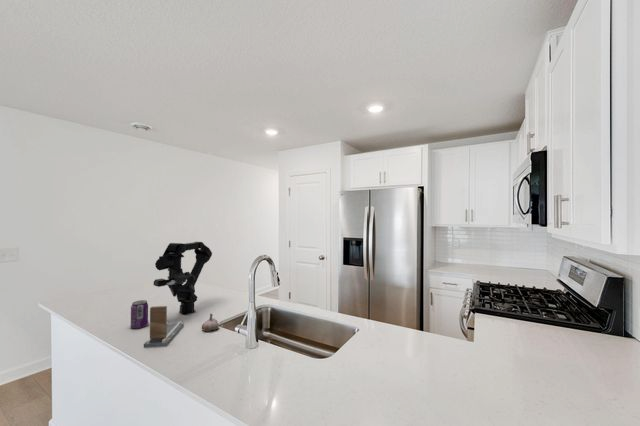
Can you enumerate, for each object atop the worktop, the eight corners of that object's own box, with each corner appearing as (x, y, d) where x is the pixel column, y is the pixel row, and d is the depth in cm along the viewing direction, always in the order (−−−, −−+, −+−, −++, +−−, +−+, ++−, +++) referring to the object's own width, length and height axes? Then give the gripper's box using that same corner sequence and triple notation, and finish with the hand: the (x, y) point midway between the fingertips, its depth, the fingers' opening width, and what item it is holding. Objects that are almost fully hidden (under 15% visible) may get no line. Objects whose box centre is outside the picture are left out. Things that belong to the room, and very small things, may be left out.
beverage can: (151, 323, 136) (151, 300, 136) (140, 329, 129) (140, 304, 129) (138, 323, 137) (138, 299, 137) (126, 329, 130) (127, 304, 130)
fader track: (164, 327, 132) (164, 322, 132) (183, 326, 133) (183, 321, 133) (143, 347, 112) (143, 341, 112) (166, 346, 114) (167, 340, 114)
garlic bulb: (221, 328, 132) (222, 312, 132) (210, 334, 125) (210, 317, 125) (210, 325, 135) (210, 309, 135) (198, 331, 128) (198, 314, 128)
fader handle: (152, 338, 117) (153, 305, 117) (167, 337, 118) (167, 305, 118) (148, 342, 113) (148, 308, 113) (163, 341, 114) (164, 308, 114)
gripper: (163, 271, 131) (162, 303, 130) (200, 266, 146) (199, 295, 145) (153, 268, 137) (152, 299, 137) (189, 263, 152) (188, 291, 152)
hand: (174, 296), depth 143 cm, fingers closed
